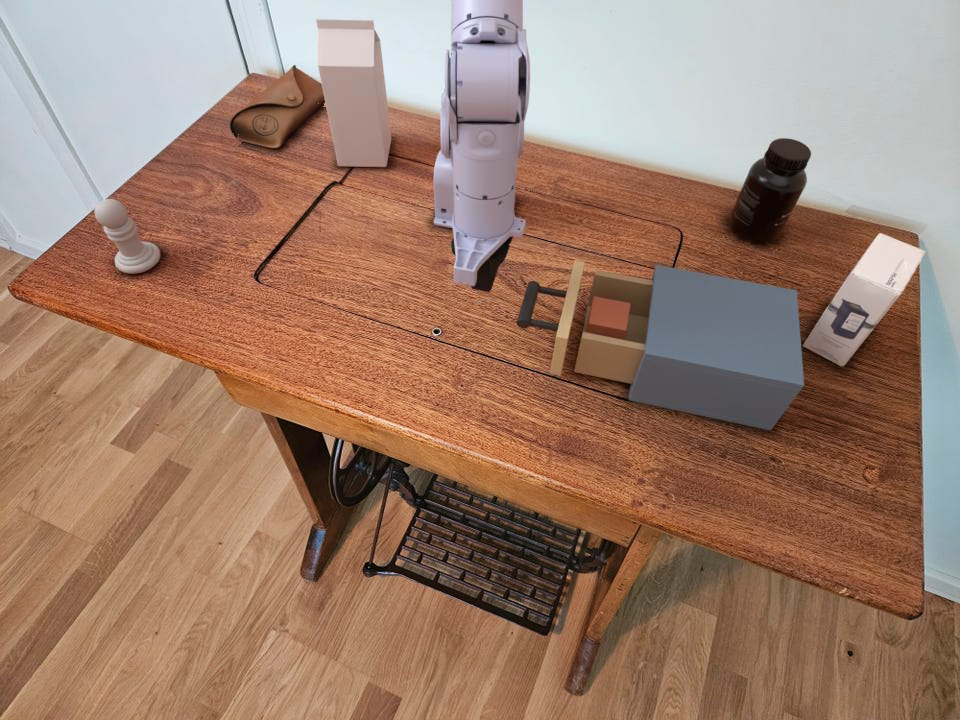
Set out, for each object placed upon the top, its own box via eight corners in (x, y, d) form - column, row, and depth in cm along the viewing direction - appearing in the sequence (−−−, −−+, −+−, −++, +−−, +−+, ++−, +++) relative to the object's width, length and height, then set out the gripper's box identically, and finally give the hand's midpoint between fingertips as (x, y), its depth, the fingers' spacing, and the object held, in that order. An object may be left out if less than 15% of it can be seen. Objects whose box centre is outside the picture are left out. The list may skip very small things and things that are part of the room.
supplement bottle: (782, 248, 80) (824, 170, 71) (728, 241, 81) (762, 162, 72) (777, 215, 84) (816, 136, 75) (726, 208, 85) (758, 129, 76)
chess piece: (109, 274, 76) (72, 216, 69) (126, 245, 79) (92, 186, 72) (152, 276, 76) (119, 218, 69) (168, 246, 79) (138, 188, 72)
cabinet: (628, 400, 66) (645, 353, 59) (639, 314, 73) (656, 264, 67) (770, 431, 63) (804, 385, 57) (767, 339, 71) (797, 290, 65)
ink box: (828, 304, 74) (880, 228, 65) (870, 325, 73) (929, 249, 63) (800, 346, 70) (851, 271, 61) (843, 369, 68) (902, 295, 59)
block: (582, 347, 67) (588, 323, 64) (588, 320, 70) (593, 295, 67) (619, 354, 67) (626, 330, 64) (623, 327, 69) (630, 303, 66)
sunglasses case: (280, 148, 91) (249, 107, 88) (252, 160, 96) (221, 122, 92) (339, 89, 102) (314, 50, 98) (311, 103, 106) (286, 66, 102)
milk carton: (386, 168, 90) (369, 33, 75) (337, 167, 90) (311, 32, 75) (391, 140, 94) (376, 7, 79) (345, 139, 94) (321, 6, 79)
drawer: (508, 365, 67) (511, 327, 62) (529, 291, 74) (534, 252, 69) (676, 400, 65) (694, 364, 60) (682, 321, 71) (698, 282, 66)
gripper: (510, 239, 51) (503, 343, 62) (543, 142, 60) (531, 248, 71) (428, 225, 52) (435, 329, 63) (472, 131, 61) (472, 237, 72)
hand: (482, 286), depth 67 cm, fingers closed
